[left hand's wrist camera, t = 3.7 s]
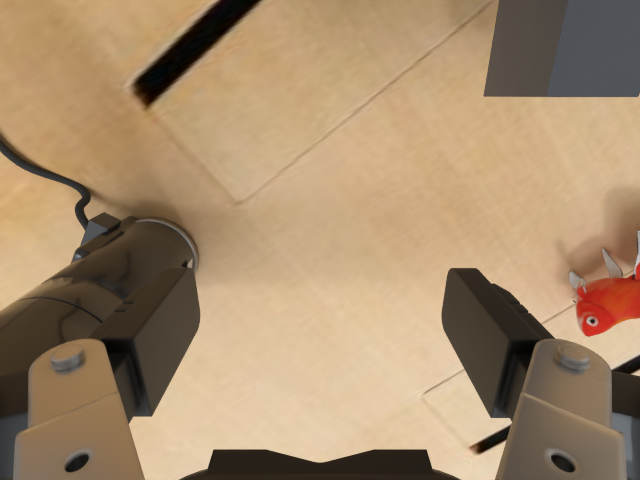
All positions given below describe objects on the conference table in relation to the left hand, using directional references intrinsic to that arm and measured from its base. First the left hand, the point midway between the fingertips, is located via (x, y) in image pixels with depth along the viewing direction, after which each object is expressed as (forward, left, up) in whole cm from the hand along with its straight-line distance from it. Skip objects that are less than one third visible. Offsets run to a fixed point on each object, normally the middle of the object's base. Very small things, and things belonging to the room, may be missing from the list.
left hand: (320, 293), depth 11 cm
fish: (+35, +7, -28) cm, 46 cm away
